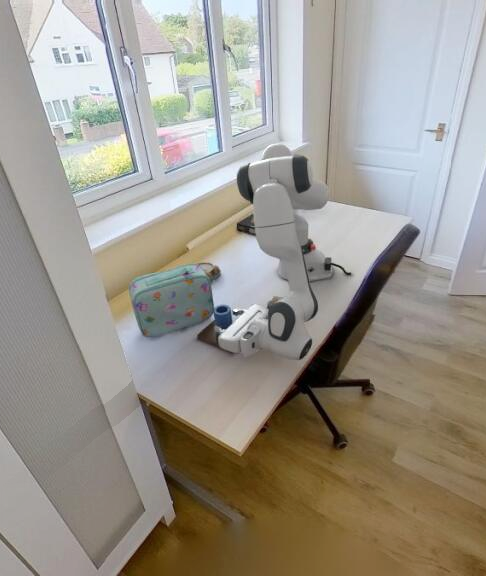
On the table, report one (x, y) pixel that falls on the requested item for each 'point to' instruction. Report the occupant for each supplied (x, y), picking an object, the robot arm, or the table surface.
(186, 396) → the table surface
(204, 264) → the alarm clock
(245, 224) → the portable cd player
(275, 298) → the toy character
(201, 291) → the lunch box
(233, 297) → the table surface
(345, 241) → the table surface
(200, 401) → the table surface
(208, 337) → the platform
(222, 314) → the blue faceted hollow tube
